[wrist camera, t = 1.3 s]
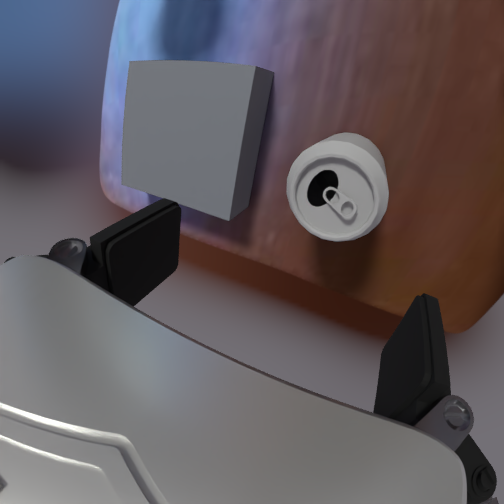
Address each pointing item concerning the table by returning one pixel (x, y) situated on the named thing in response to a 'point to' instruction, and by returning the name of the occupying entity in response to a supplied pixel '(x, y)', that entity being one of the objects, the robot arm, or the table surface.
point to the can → (339, 187)
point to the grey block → (194, 132)
